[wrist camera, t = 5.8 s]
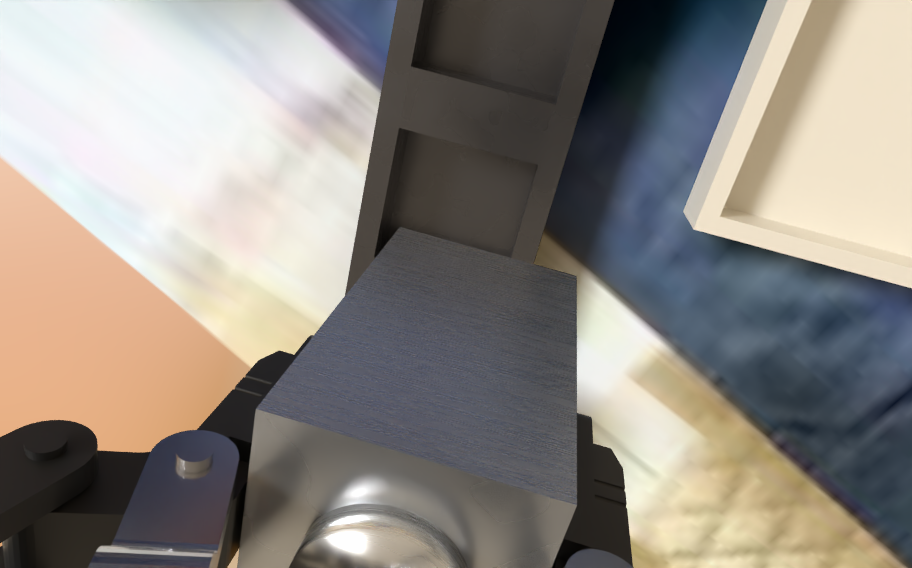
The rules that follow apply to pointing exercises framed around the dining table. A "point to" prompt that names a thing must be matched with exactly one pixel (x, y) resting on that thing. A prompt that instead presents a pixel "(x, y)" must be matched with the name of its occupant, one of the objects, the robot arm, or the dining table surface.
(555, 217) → the dining table surface
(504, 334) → the silver knobbed block
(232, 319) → the dining table surface
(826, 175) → the parts tray
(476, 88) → the dark grey compartment tray
